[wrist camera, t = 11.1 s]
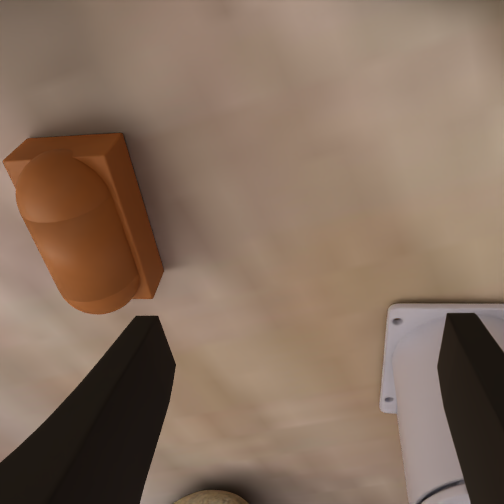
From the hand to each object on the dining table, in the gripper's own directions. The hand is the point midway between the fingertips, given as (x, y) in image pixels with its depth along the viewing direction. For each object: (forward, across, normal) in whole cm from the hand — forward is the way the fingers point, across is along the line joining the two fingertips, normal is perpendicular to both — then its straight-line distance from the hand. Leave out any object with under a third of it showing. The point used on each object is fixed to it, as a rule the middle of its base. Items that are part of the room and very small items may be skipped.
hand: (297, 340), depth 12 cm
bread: (+10, +10, +2) cm, 15 cm away
